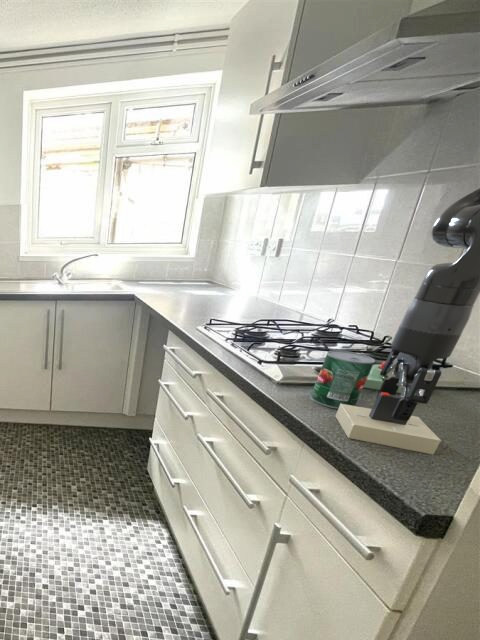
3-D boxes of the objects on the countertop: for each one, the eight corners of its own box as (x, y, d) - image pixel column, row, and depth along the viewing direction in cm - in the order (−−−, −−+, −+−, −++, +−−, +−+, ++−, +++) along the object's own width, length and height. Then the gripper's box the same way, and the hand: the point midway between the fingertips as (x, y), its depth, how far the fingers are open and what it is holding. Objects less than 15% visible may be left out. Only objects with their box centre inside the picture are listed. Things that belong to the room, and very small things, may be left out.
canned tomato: (302, 393, 98) (318, 349, 93) (339, 395, 96) (358, 351, 92) (323, 408, 90) (342, 361, 86) (364, 411, 89) (385, 363, 85)
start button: (398, 369, 102) (401, 363, 101) (404, 375, 99) (407, 368, 98) (377, 366, 104) (379, 360, 103) (382, 372, 100) (385, 365, 100)
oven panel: (411, 430, 82) (418, 415, 81) (433, 455, 74) (441, 439, 73) (335, 416, 87) (340, 402, 86) (348, 438, 79) (354, 423, 78)
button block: (408, 382, 104) (415, 367, 103) (425, 397, 96) (433, 381, 94) (347, 373, 109) (353, 359, 108) (359, 386, 101) (365, 371, 100)
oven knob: (402, 421, 79) (414, 396, 77) (405, 425, 78) (418, 400, 76) (368, 415, 81) (379, 391, 79) (371, 418, 80) (382, 394, 78)
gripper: (483, 341, 65) (434, 431, 71) (441, 320, 76) (402, 399, 83) (418, 334, 68) (377, 421, 74) (388, 315, 79) (354, 391, 86)
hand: (390, 409), depth 79 cm, fingers open, 8 cm apart
